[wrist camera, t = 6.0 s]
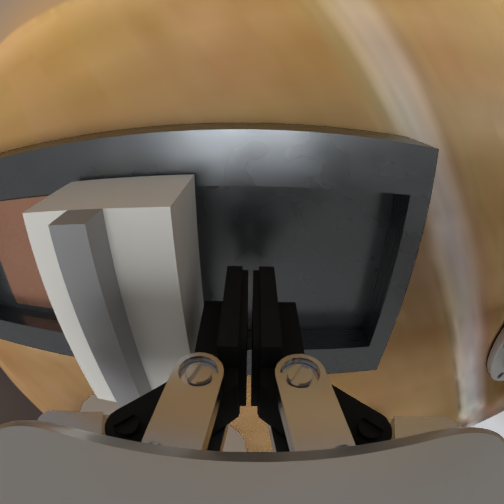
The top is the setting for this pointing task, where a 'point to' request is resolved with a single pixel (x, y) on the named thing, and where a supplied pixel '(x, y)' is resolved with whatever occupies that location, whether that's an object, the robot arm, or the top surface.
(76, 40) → the top surface
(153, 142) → the dark grey tray
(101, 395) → the slider knob
